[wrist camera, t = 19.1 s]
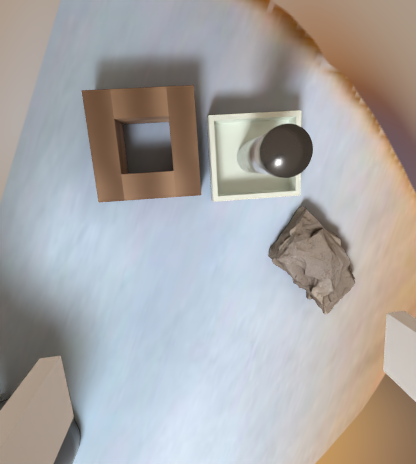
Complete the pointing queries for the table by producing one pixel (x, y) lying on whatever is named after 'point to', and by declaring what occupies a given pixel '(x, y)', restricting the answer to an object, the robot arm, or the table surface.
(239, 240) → the table surface
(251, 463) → the table surface
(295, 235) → the rock
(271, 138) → the capped bottle
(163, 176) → the bore block
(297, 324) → the table surface
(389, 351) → the robot arm
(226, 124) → the tray
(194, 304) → the table surface
